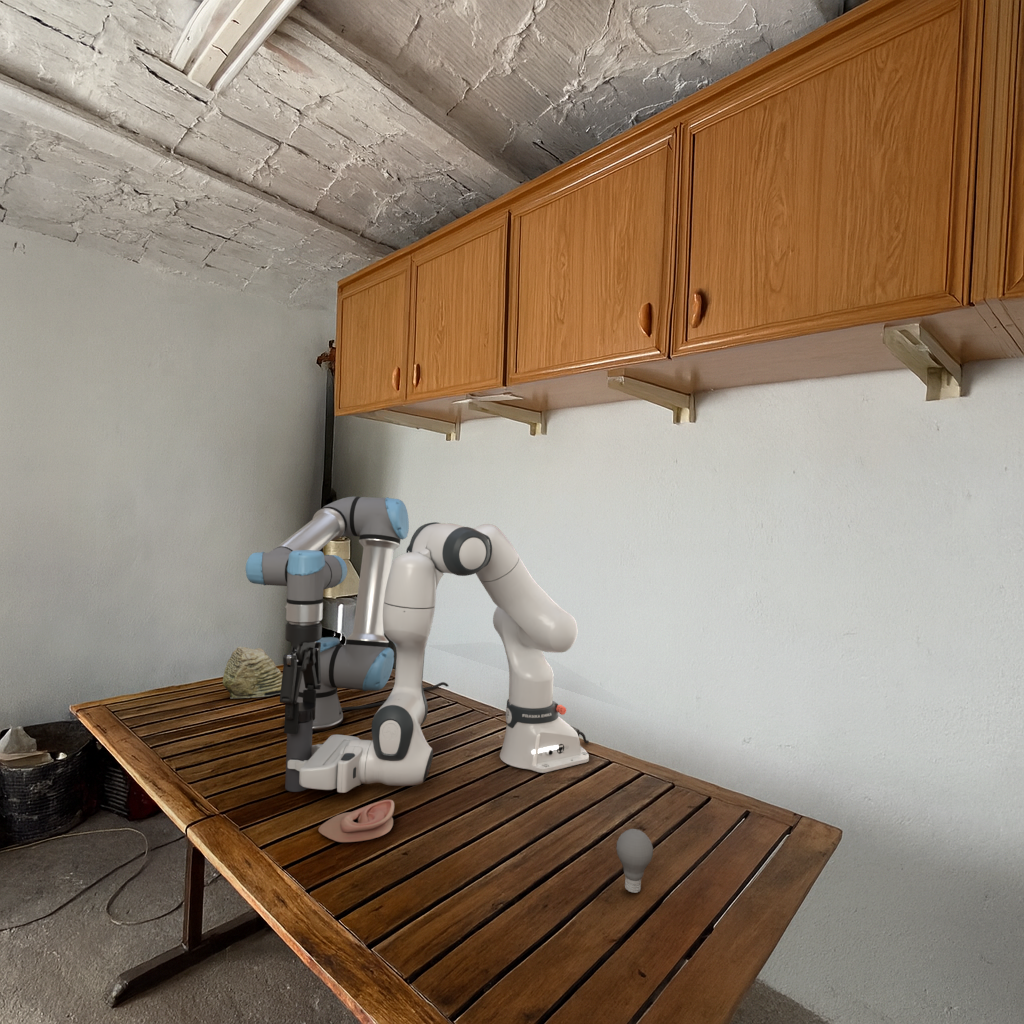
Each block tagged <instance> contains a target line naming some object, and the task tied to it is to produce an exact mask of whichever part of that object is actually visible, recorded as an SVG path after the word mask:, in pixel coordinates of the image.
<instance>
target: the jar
mask: <svg viewBox="0 0 1024 1024" xmlns="http://www.w3.org/2000/svg"><path fill="white" fill-rule="evenodd" d="M312 731H313V719H312V720H310V721H306V722H298V733H297V734H288V733H286V752H285V753H286V754H285V780H284V789H285V790H286V791H288V792H292V793H298V792H304V791H306V790H309V788H305V787H303V786H301V785H300V784H299V775H300V772H299V771H297V770H295V769H289V768H288V767H287V766H288V761H289V760H290V759H291V758H298V760H300V761H304V760H309V759H310V758H311V757H312V756H313V755H312V746H313V732H312Z"/></svg>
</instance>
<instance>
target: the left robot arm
mask: <svg viewBox="0 0 1024 1024" xmlns="http://www.w3.org/2000/svg"><path fill="white" fill-rule="evenodd" d="M409 521H410V520H409V512H408V509H407V506H406V504H405V503H404V501H402V499H399V498H391V497H376V496H371V497H370V496H347V497H343V498H340V499H337V500H334V501H332V502H330V503H328V504H326V505H324V506H323V507H321V508H320V509H318V510H317V511H316V512H315V513H314V514H313V516H312V519H311V520H310V521H309V522H307V523H306V524H305V525H303V526H302V527H301V528H300V529H298V530H297V531H295V532H294V533H293V534H291V535H290V536H289V537H287V538H286V539H284V541H282V542H281V543H279V545H277V546H276V547H274V548H273V549H272V550H270V551H269V552H265V551H260V552H253V553H251V554H250V555H249V556H248V558H247V560H246V563H245V573H246V574H245V575H246V578H247V580H248V582H250V583H251V584H254V585H263V586H277V587H286V589H287V590H286V605H285V606H284V609H285V610H286V611H285V612H286V613H285V621H287V622H286V623H285V629H284V630H285V631H284V633H285V634H284V639H285V640H286V641H287V642H289V643H290V644H291V646H290V651H289V654H287V653H285V654H284V655H283V656H282V662H283V663H282V664H283V667H282V684H281V693H280V694H279V703H280V704H284V728H283V733H284V734H287V733H288V734H297V733H298V720H299V703H300V702H307V703H312V704H314V705H315V717H314V719H313V731H312V733H316V732H325V731H329V730H332V729H335V728H337V727H339V726H340V725H342V723H343V722H344V714H343V711H344V712H345V711H353V710H364V709H369V708H370V709H371V708H375V707H379V706H382V705H383V704H384V703H385V701H386V700H383V701H379V702H375V703H370V704H363V705H356V706H355V705H353V706H344V707H343V706H341V702H340V699H339V695H338V689H346V690H357V691H363V692H368V691H370V692H371V691H373V692H374V691H375V692H377V691H380V690H382V689H383V688H384V687H385V686H386V685H387V684H388V682H389V680H390V677H391V675H392V671H393V668H394V663H395V657H394V656H395V652H394V650H393V649H392V648H391V647H389V643H390V640H389V639H388V638H387V636H386V635H385V633H384V629H383V604H384V596H385V590H386V584H387V580H388V576H389V573H390V569H391V566H392V563H393V561H394V552H395V551H396V550H397V549H398V548H399V547H400V546H401V540H405V539H406V538H407V537H408V534H409V529H410V525H409V523H410V522H409ZM342 537H359V539H358V543H359V544H360V545H361V546H362V557H361V565H360V574H359V581H358V588H357V597H356V604H355V611H354V620H353V628H352V632H351V634H350V635H348V636H347V637H346V638H345V644H341V641H340V639H339V638H338V637H334V636H325V637H323V635H322V634H323V633H322V632H323V623H322V622H321V621H322V620H323V618H324V617H323V615H324V614H323V612H324V610H323V609H324V590H327V589H333V588H335V587H337V586H338V585H340V584H342V583H343V582H344V581H345V579H346V578H347V575H348V566H347V563H346V562H345V560H344V559H343V558H342V557H341V556H339V555H335V554H326V555H325V554H324V552H323V551H322V550H323V548H324V547H325V546H326V545H328V544H329V543H330V542H331V541H336V540H338V539H340V538H342ZM432 686H433V687H432ZM441 686H445V687H446V688H447V687H449V684H448V683H447V682H444V681H443V682H439V683H437V684H434V685H431V686H425V687H423V691H424V692H425V691H430V690H434V689H437V688H439V687H441Z"/></svg>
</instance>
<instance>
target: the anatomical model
mask: <svg viewBox="0 0 1024 1024" xmlns="http://www.w3.org/2000/svg"><path fill="white" fill-rule="evenodd" d="M394 812H395V801H394V800H392V799H384V800H380V801H377V802H373V803H370V804H368V805H365V806H363V807H360V808H357V809H355V810H353V811H348V812H343V813H340V814H337V815H334V816H333V817H331V818H330V819H328V820H326V821H325V822H323V823H322V824H321V825H320V826H319V827H318V829H317V830H318V832H319V834H321V835H322V836H324V837H325V838H328V839H330V840H332V841H334V842H337V843H355V842H363V841H370V840H374V839H376V838H380V837H382V836H384V835H386V834H388V833H389V832H390V831H391V830H392V828H393V826H394V818H393V815H394Z"/></svg>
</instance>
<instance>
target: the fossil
mask: <svg viewBox="0 0 1024 1024" xmlns="http://www.w3.org/2000/svg"><path fill="white" fill-rule="evenodd" d="M282 675H283V672H281V669H279V668H278V667H277V665H276V663H275V662H274V660H273V659H272V658H271V657H270V656H269V655H268V654H267V653H266V652H265V650H264V649H263V648H260V647H258V648H251V647H247V646H246V647H245V646H238V647H237V648H236V649H235V650H233V651H232V653H231V656H230V657H229V659H228V660H227V663H226V666H225V668H224V671H223V675H222V676H223V677H222V685H223V687H224V688H225V690H226V691H228V693H229V698H230V699H250V698H264V697H271V696H275V695H280V693H281V684H282Z"/></svg>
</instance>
